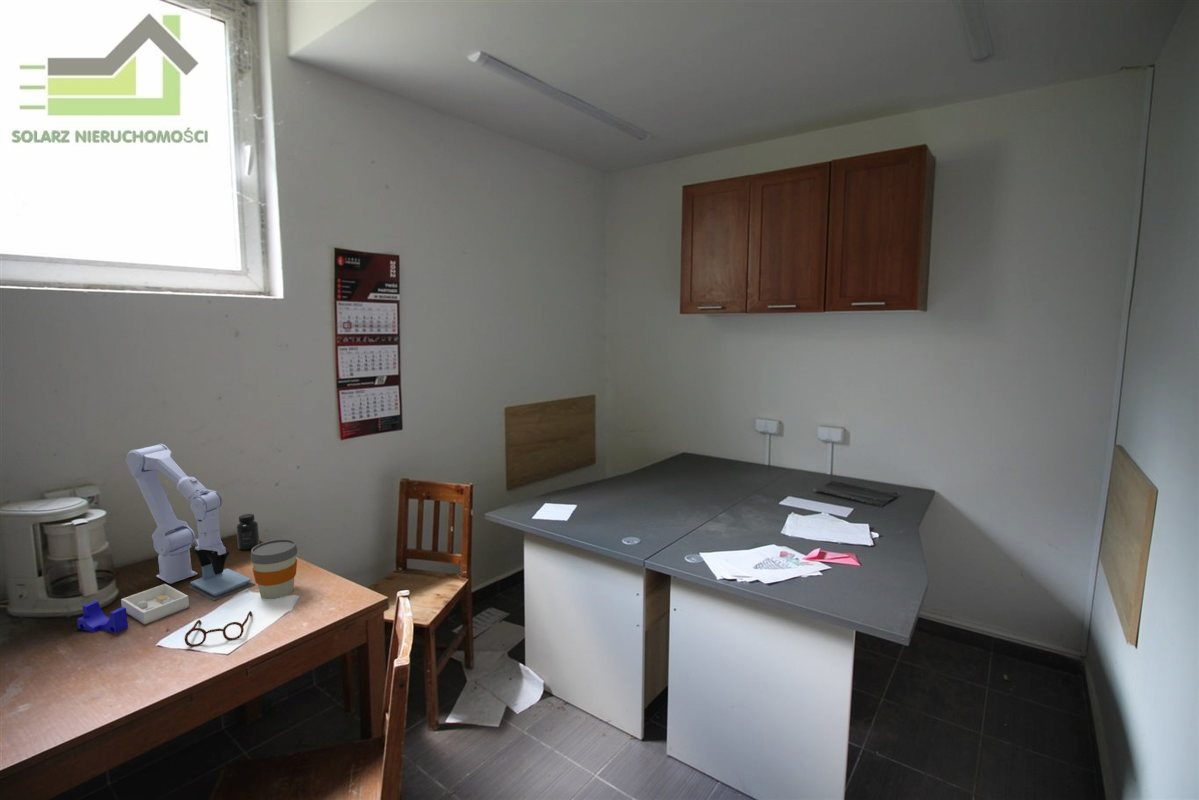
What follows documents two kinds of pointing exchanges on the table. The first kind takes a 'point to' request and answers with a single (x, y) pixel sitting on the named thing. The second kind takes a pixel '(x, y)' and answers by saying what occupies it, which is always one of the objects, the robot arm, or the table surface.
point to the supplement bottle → (247, 532)
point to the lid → (219, 581)
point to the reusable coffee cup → (274, 567)
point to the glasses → (215, 631)
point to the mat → (221, 594)
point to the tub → (155, 603)
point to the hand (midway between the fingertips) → (212, 570)
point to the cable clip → (102, 619)
